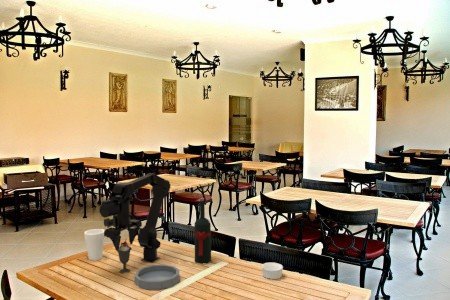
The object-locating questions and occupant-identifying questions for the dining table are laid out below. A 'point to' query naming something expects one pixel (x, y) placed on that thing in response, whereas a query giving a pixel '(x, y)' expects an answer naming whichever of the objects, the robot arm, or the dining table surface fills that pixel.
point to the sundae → (124, 256)
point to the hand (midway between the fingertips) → (124, 247)
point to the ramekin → (272, 270)
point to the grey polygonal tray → (157, 277)
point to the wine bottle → (202, 237)
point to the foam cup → (94, 243)
